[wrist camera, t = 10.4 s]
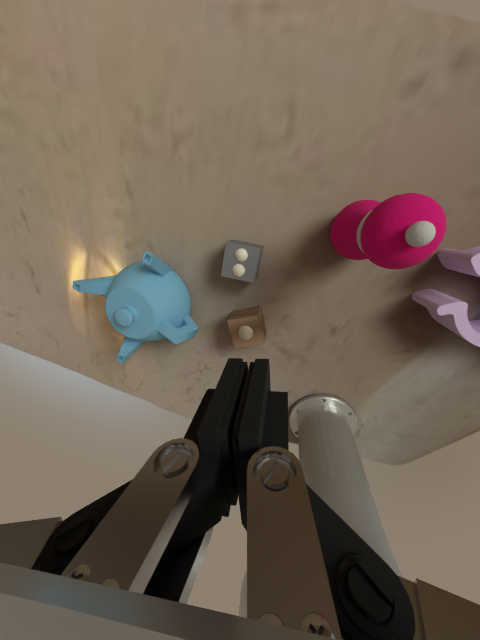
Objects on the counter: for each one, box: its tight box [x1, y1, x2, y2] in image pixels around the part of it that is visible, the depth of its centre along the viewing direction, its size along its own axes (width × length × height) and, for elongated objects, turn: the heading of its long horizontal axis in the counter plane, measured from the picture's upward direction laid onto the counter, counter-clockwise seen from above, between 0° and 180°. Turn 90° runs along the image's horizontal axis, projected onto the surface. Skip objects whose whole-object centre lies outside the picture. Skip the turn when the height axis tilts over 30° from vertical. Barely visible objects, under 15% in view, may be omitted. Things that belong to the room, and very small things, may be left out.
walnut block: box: [227, 306, 266, 349], centre depth 40 cm, size 5×5×5 cm
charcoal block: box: [221, 240, 264, 283], centre depth 37 cm, size 5×5×5 cm
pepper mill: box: [330, 193, 446, 269], centre depth 26 cm, size 7×7×20 cm
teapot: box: [73, 251, 198, 364], centre depth 40 cm, size 15×15×11 cm
